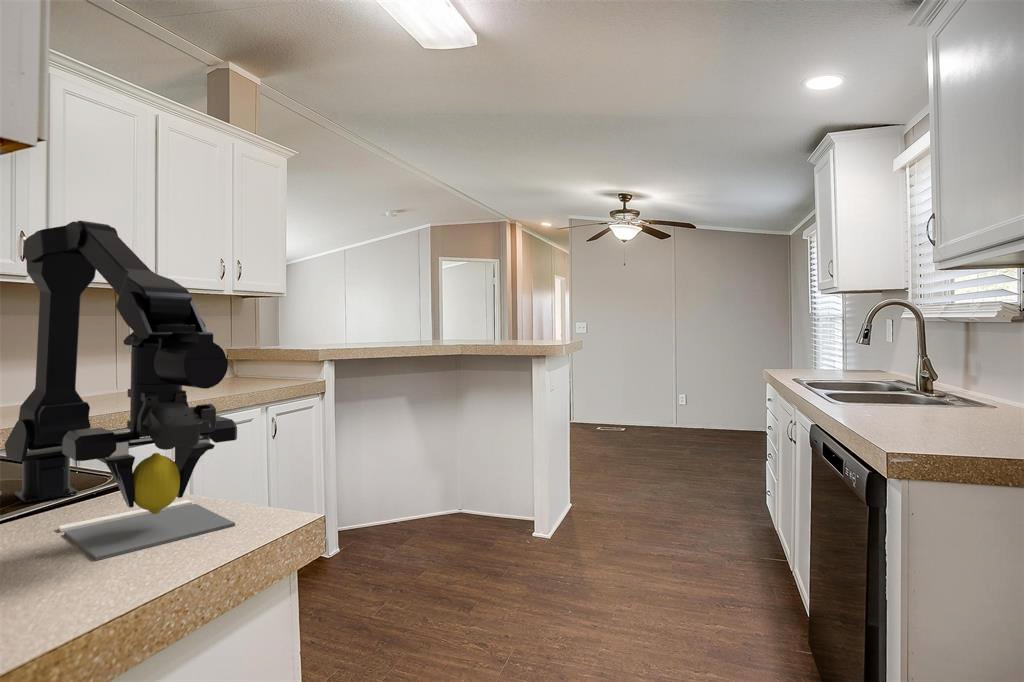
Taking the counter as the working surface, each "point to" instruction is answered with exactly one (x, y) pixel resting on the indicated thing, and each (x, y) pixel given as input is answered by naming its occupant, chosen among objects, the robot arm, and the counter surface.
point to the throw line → (118, 517)
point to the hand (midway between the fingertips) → (155, 501)
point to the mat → (146, 530)
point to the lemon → (155, 483)
